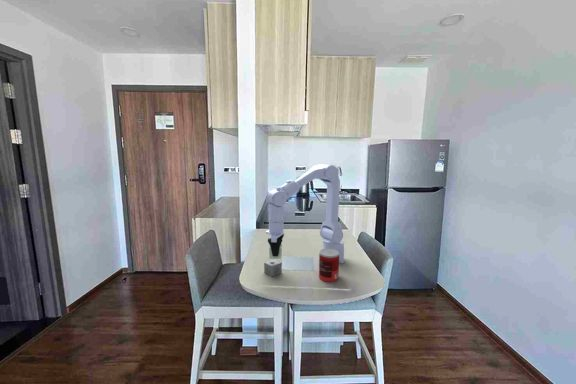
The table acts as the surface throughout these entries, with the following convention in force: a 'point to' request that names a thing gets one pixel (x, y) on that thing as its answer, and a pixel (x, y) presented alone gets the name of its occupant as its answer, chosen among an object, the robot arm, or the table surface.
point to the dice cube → (272, 267)
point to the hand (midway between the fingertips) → (276, 253)
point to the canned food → (328, 265)
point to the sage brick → (275, 256)
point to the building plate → (297, 263)
